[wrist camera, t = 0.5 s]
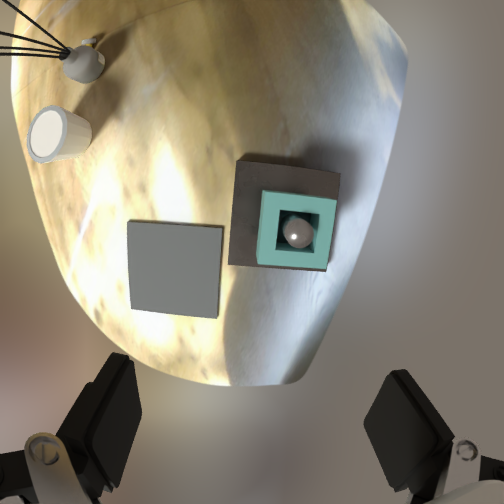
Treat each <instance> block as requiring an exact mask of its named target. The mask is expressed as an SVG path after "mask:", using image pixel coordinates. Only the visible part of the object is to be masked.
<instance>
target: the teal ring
mask: <svg viewBox="0 0 504 504" xmlns="http://www.w3.org/2000/svg"><path fill="white" fill-rule="evenodd" d="M336 203H337V200H334V199H331V198H327V197H320V196H313V195H305V194H296V193H288V192H279V191H269V190H263V191H262V201H261V211H260V220H259V230H258V240H257V250H256V257H257V262H258V264H264V265H277V266H291V267H304V268H318V269H326V267H327V262H328V256H329V250H330V244H331V238H332V231H333V225H334V218H335V210H336ZM280 210H288V211H298V212H307V213H311V219H310V225H311V226H312V228H313V231H314V237H313V240H312V242H311V243H310V244H309V245H308V246H306V247H304V248H295V247H293V246H291V245H290V244H289V243H277V242H276V239H277V231H278V222H279V213H280Z"/></svg>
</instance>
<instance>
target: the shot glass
mask: <svg viewBox="0 0 504 504" xmlns="http://www.w3.org/2000/svg"><path fill="white" fill-rule="evenodd" d="M91 139H92V129H91V126H90V123H89V122H88V121H87V120H86V119H84V118H82V117H80V116H78V115H76V114H74V113H72V112H70V111H67V110H65V109H63V108H61V107H59V106H54V105H50V106H48V107H45V108H43V109H42V110H41V111H40V112H39V113H38V114H36V116H35V118H34V119H33V121H32V122H31V124H30V127H29V131H28V134H27V148H28V152H29V155H30V156H31V158H32V159H33V160H34V161H36V162H38V163H47V162H53V161H59V160H65V159H72V158H77V157H79V156H81V155H82V154H84V153H85V151H86V150H87V149H88V147H89V145H90V142H91Z"/></svg>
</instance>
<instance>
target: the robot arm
mask: <svg viewBox="0 0 504 504" xmlns="http://www.w3.org/2000/svg"><path fill="white" fill-rule="evenodd" d="M141 416H142V408H141V403H140V398H139V393H138V386H137V380H136V374H135V368H134V362H133V361H132V360H130V359H129V356H128V355H123V354H119V353H114V352H113V353H112V354H111V355H110V356H109V358H108V359H107V361H106V362H105V364H104V366H103V367H102V369H101V370H100V372H99V373H98V375H97V377H96V378H95V380H94V382H89V383H87V384H86V385H85V387H84V388H83V390H82V392H81V393H80V395H79V397H78V398H77V400H76V401H75V403H74V405H73V406H72V408H71V410H70V411H69V413H68V415H67V416H66V418H65V420H64V421H63V423H62V425H61V426H60V428H59V430H58V432H57V433H56V435H53V434H50V433H46V432H42V433H36V434H34V435H32V436H31V437H29V438H28V440H27V441H26V443H25V447H24V450H20V451H15V452H9V453H4V454H0V504H102V502H101V500H100V499H99V497H101V494H102V491H103V490H104V491H107V492H110V493H112V491H113V488H114V487H116V488H118V486H119V484H120V481H121V478H122V474H123V471H124V468H125V465H126V462H127V459H128V456H129V453H130V450H131V447H132V444H133V441H134V437H135V435H136V432H137V429H138V426H139V423H140V420H141ZM364 428H365V430H366V432H367V435H368V437H369V439H370V441H371V444H372V446H373V448H374V451H375V453H376V455H377V457H378V460H379V462H380V464H381V467H382V469H383V471H384V474H385V476H386V479H387V481H388V483H389V485H390V486H391V487H393V488H394V491H395V492H399V491H402V490H405V489H407V488H409V490H410V492H409V495H408V497H407V500H406V503H405V504H504V461H500V460H496V459H492V458H489V457H485V456H482V455H481V451H480V447H479V445H478V444H477V443H476V442H475V441H474V440H472V439H470V438H466V437H463V438H459V439H457V440H456V441H455V442H454V443H453V442H452V440H453V439H454V437H455V436H454V434H453V433H452V431H451V430H450V429H449V427H448V426H447V424H446V423H445V422H444V420H443V419H442V417H441V416H440V414H439V413H438V412H437V410H436V409H435V407H434V406H433V405H432V403H431V402H430V400H429V399H428V398H427V396H426V395H425V394H424V392H423V391H422V390H421V388H420V387H419V386H418V384H417V383H416V382H415V380H414V379H413V378H412V376H411V375H410V374H409V372H408V371H407V370H405V369H401V370H394V371H391V372H390V374H389V375H387V376H386V378H385V380H384V382H383V385H382V387H381V389H380V391H379V393H378V395H377V397H376V399H375V401H374V403H373V404H372V406H371V408H370V410H369V412H368V414H367V415H366V417H365V419H364Z"/></svg>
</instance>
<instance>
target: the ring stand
mask: <svg viewBox="0 0 504 504" xmlns="http://www.w3.org/2000/svg"><path fill="white" fill-rule="evenodd" d="M339 183H340V173H334V172H328V171H321V170H315V169H308V168H301V167H293V166H285V165H277V164H268V163H258V162H248V161H236V172H235V182H234V194H233V205H232V217H231V229H230V242H229V256H228V265H239V266H252V267H265V268H278V269H292V270H306V271H321V272H326V270H327V267H326V269H318V268H304V267H291V266H277V265H264V264H258V262H257V257H256V250H257V240H258V230H259V220H260V211H261V201H262V191H263V190H269V191H279V192H288V193H296V194H305V195H313V196H320V197H327V198H331V199H334V200H337V199H338V192H339ZM336 207H337V203H336ZM335 214H336V210H335ZM310 219H311V213H307V212H298V211H288V210H280V213H279V222H278V231H277V239H276V242H277V243H289V244H290V245H291V246H293V247H295V248H304V247H306V246H308V245H309V244H310V243H311V242H312V240H313V237H314V231H313V228H312V226H311V225H310ZM334 221H335V218H334ZM333 228H334V225H333ZM332 235H333V231H332ZM331 241H332V238H331ZM330 247H331V244H330ZM329 253H330V250H329ZM328 259H329V256H328ZM327 265H328V262H327Z"/></svg>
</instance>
